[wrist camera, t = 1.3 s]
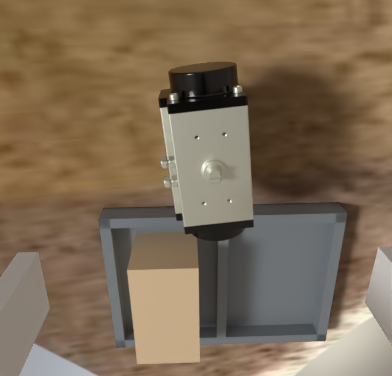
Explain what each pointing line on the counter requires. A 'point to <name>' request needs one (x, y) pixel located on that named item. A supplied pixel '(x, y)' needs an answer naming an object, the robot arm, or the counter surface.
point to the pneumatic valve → (208, 150)
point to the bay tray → (220, 279)
